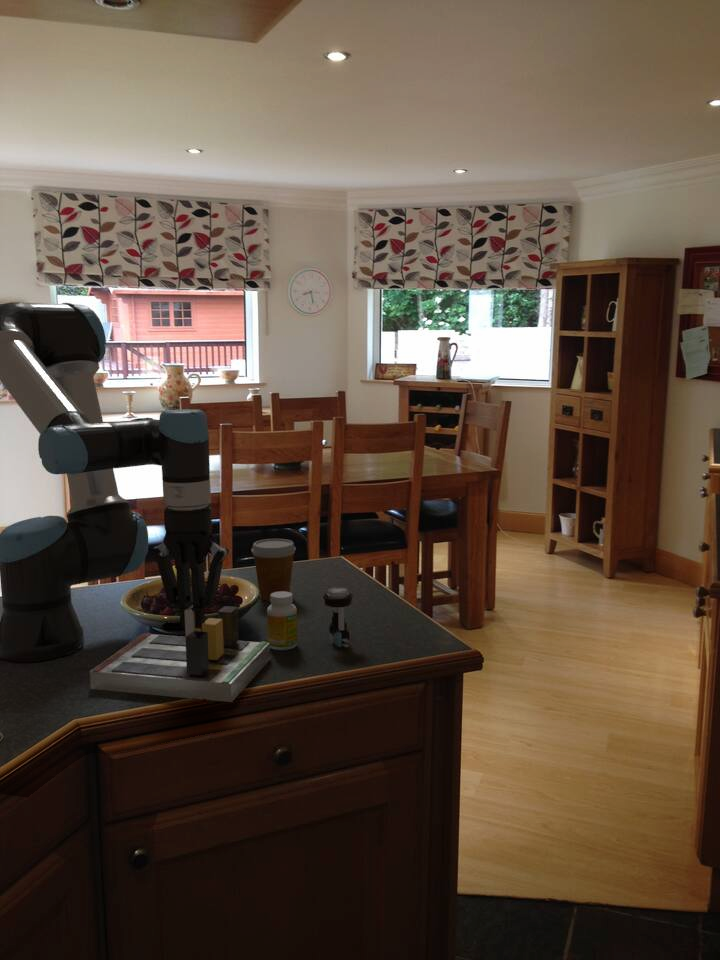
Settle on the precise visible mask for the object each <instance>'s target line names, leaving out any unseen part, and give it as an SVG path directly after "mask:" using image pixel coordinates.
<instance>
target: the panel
mask: <svg viewBox="0 0 720 960" xmlns="http://www.w3.org/2000/svg"><path fill="white" fill-rule="evenodd" d="M238 611H239V609H238V606H231V605H230V606H229V605H227V606H226V605H224V606H223V607H222V608H220V609H219V610H218V611H217V619H223V645H224V654H223V655H222V656H221V657H220V658H218V659H217V660H210V659H209V655H208V632H202V631H201V632H200V631H193V632H192V633H190V634H189V635H188V636H187V637H186V636H182V635H181V636H178V635H168V634H167V635H165V634H154V633H153V634H152V633H151V632H144V633H141V635H139V636H137V637H136V638H134V640H132V641H130V642H129V643H128V644H126V645H125V646H123V647H122V648H121V649H119V650H118V651H117V652H115V653H114V654H112V655H111V656H109V657H108V658H107V659H105V660H104V661H102V662H101V663H99V664H98V665H96V666H95V667H94V668H92V669H91V670H90V671H89V679H90V680H89V682H90V690H98V691H106V692H107V691H109V692H119V693H129V694H140V695H151V696H162V697H172V698H180V699H181V698H184V699H192V698H201V699H200V700H203V699H206V700H205V701H216V702H227V703H229V702H230V703H233V701H235V700H236V698H237V697H238V696H239V695H240V694H241V693H242V691H243V690H244V689H245V688H246V687H247V686H248V685H249V683H251V682H252V681H253V679H254V678H255V677H256V675H258V674H259V672H260V671H261V670H262V669H263V668H264V667H265V665H267V664H268V663H269V661H270V660H271V652H270V651H271V648H270V643H268V641H263V640H262V641H261V642H259V641H247V640H246V641H245V640H239V639H240V637H239V612H238ZM242 689H243V690H242ZM239 693H240V694H239Z"/></svg>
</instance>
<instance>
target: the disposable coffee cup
mask: <svg viewBox="0 0 720 960" xmlns="http://www.w3.org/2000/svg"><path fill="white" fill-rule="evenodd" d="M250 550H251V553H252V555H253V559H254V564H255V565H254V566H255V572H256V578H257V584H258V586H257V587H258V591H259V590H260V592H259V595H260V594H261V598H260V599H261V600H263V601H265V600H266V601H267V602H271V601H270V595H271V594H272V593H274V592H280V591H285V592H290V593H291V583H292V582H291V581H292V571H293V565H294V564H293V562H294V555H295V551H296V550H297V549H296V546H295V544H294V542H293V540H290V539H284V538H266V539H261V540H257V541H255V542H253V544H252V548H251V549H250Z"/></svg>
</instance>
